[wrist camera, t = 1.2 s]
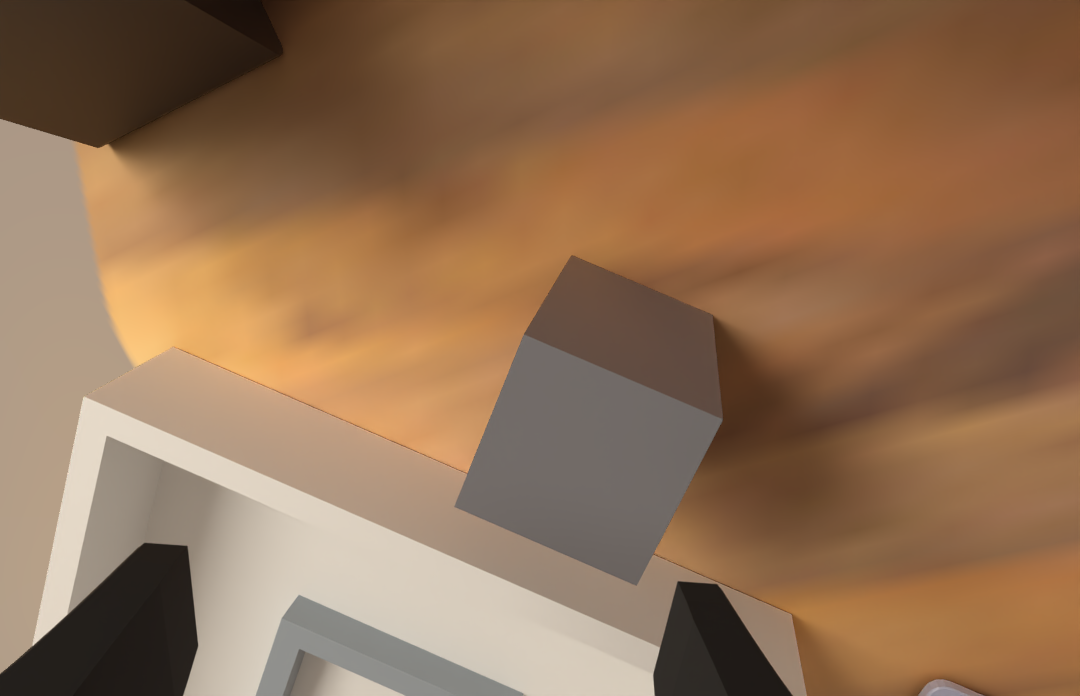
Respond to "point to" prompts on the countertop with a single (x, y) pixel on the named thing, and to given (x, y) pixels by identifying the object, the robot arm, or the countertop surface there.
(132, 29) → the phone stand
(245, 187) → the countertop surface
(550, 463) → the grey rectangular block
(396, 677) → the box
